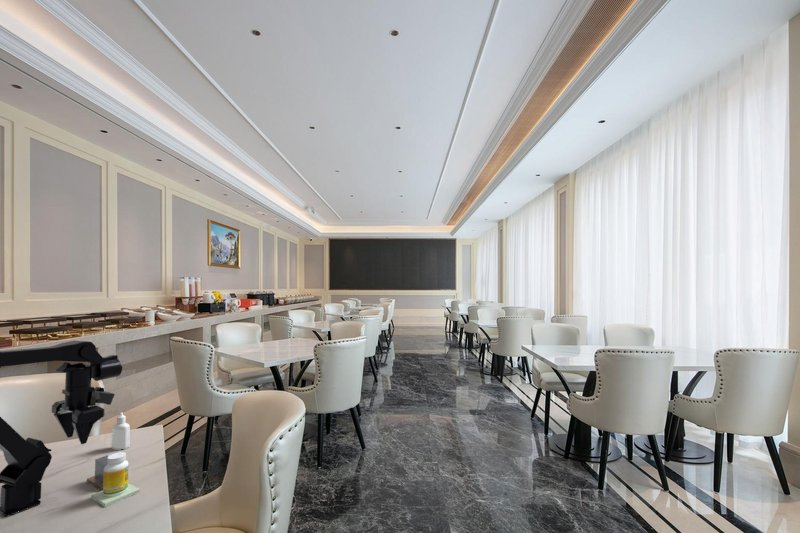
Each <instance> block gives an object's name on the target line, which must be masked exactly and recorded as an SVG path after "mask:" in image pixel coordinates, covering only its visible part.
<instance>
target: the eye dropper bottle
mask: <svg viewBox="0 0 800 533" xmlns="http://www.w3.org/2000/svg"><path fill="white" fill-rule="evenodd" d="M126 418H127V417H126V415H124V413H123V411H122V412H120V413H119V416H117V417H116V423H115V424H114V425H113V426H112V429H111V449H112V450H114V451H116V450H117V451H122V450H121V449H123V450H126V449H128V448H130V446H131V444H130V442H131V438H130V437H131V426H130V424H129V423H128V422H126V420H127V419H126ZM125 431H127V432H125ZM113 433H114V434H113Z"/></svg>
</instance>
